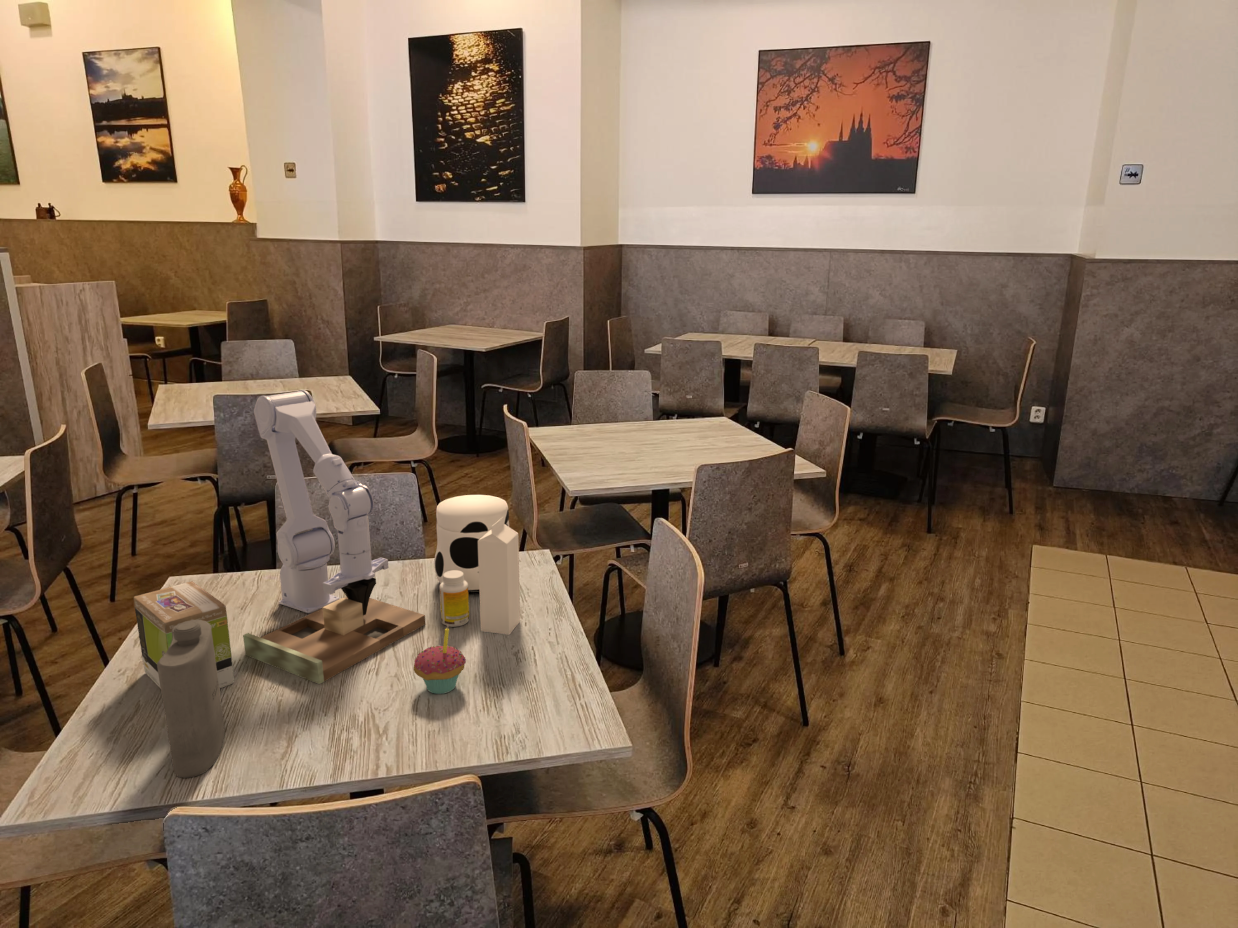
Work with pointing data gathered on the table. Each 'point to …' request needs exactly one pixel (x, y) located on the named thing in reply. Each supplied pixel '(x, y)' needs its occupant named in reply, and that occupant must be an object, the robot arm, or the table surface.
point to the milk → (499, 579)
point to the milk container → (465, 533)
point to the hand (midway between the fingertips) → (360, 614)
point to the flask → (192, 699)
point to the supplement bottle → (454, 599)
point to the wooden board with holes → (331, 641)
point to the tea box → (171, 609)
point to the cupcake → (440, 666)
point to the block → (343, 616)
